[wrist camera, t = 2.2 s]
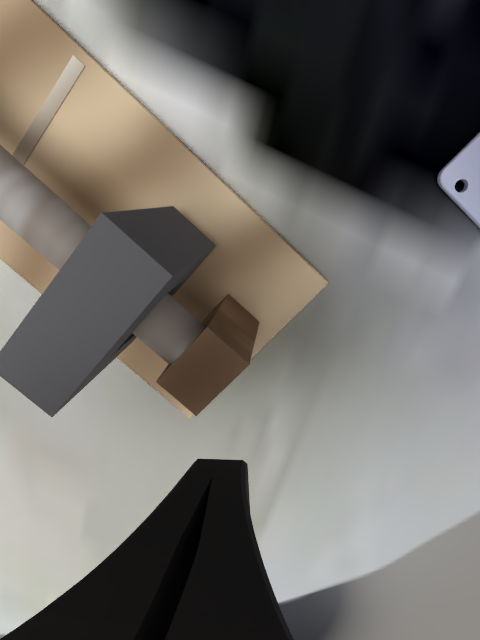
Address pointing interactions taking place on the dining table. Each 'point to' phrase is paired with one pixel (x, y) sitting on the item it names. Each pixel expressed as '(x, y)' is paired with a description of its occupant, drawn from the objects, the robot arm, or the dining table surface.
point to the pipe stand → (130, 194)
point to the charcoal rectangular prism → (100, 301)
